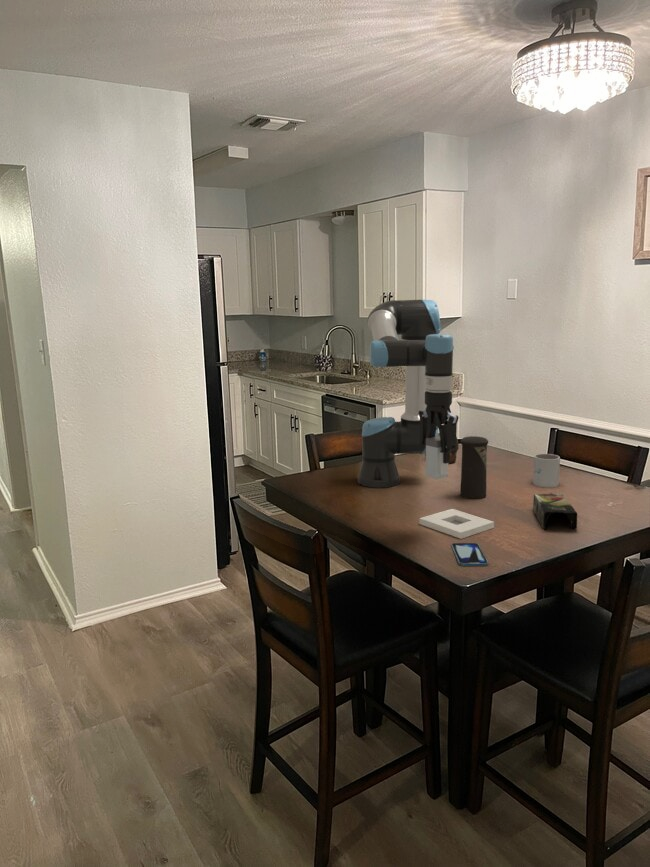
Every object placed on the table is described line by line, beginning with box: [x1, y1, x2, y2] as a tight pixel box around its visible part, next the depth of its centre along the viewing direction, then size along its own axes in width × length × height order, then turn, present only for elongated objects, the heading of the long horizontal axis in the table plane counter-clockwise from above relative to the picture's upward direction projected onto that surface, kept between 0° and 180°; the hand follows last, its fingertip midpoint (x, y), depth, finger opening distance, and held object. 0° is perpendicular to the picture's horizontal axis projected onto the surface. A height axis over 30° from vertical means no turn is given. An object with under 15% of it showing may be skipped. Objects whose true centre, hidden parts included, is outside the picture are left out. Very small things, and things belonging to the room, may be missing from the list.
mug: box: [532, 453, 561, 488], centre depth 234 cm, size 12×9×10 cm
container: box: [459, 435, 489, 500], centre depth 219 cm, size 9×9×20 cm
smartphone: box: [450, 542, 489, 567], centre depth 170 cm, size 7×1×15 cm
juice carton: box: [532, 492, 578, 531], centre depth 196 cm, size 20×10×6 cm, turn 172°
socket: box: [419, 508, 495, 540], centre depth 192 cm, size 16×14×2 cm
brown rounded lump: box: [438, 432, 459, 465], centre depth 267 cm, size 11×11×12 cm
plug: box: [425, 436, 450, 480], centre depth 186 cm, size 4×4×11 cm
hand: (437, 472), depth 187 cm, fingers closed on plug, 4 cm apart
